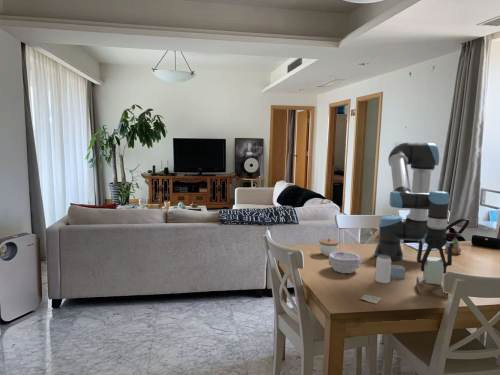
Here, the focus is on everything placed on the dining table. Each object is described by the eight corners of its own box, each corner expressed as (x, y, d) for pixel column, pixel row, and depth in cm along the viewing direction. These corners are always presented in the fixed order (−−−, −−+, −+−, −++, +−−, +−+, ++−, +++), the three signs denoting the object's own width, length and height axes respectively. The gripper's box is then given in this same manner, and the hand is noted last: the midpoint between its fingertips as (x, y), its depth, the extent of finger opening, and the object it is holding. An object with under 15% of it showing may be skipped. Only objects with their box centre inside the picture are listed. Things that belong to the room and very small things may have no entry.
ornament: (443, 252, 220) (445, 236, 218) (446, 250, 224) (447, 234, 223) (458, 255, 214) (460, 238, 213) (461, 253, 219) (462, 237, 218)
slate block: (393, 278, 176) (394, 268, 175) (390, 274, 181) (390, 265, 180) (404, 278, 176) (404, 268, 175) (400, 275, 181) (401, 265, 180)
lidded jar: (340, 253, 214) (341, 238, 213) (334, 258, 205) (334, 242, 204) (322, 250, 220) (323, 235, 218) (315, 255, 211) (316, 239, 209)
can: (388, 285, 167) (389, 259, 166) (373, 282, 171) (375, 256, 169) (391, 280, 173) (392, 255, 171) (377, 277, 176) (378, 253, 175)
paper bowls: (338, 263, 196) (339, 249, 195) (365, 271, 185) (366, 255, 185) (322, 270, 186) (323, 254, 185) (349, 278, 175) (350, 262, 174)
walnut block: (419, 294, 158) (420, 285, 157) (416, 284, 168) (416, 276, 168) (448, 297, 154) (449, 288, 154) (442, 288, 165) (443, 279, 164)
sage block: (425, 282, 159) (427, 260, 157) (423, 278, 164) (425, 256, 163) (441, 284, 157) (443, 262, 156) (438, 279, 163) (440, 257, 161)
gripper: (413, 227, 157) (409, 279, 160) (463, 231, 151) (459, 285, 154) (411, 223, 164) (407, 273, 167) (459, 227, 159) (454, 279, 161)
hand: (432, 279), depth 161 cm, fingers closed on sage block, 6 cm apart
